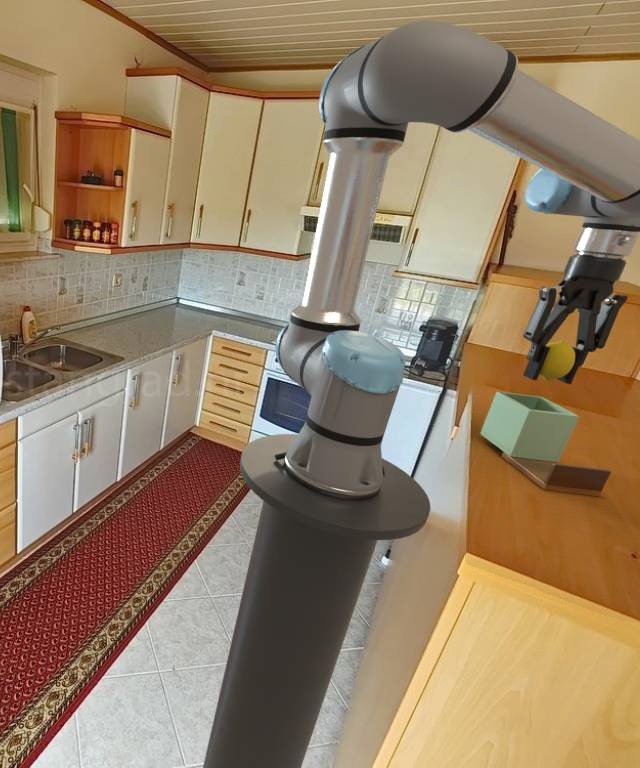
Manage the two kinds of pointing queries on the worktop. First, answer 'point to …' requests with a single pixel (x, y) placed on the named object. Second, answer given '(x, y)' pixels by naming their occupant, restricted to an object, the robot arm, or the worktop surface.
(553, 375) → the lemon
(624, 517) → the worktop surface
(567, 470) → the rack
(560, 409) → the container
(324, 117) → the robot arm
